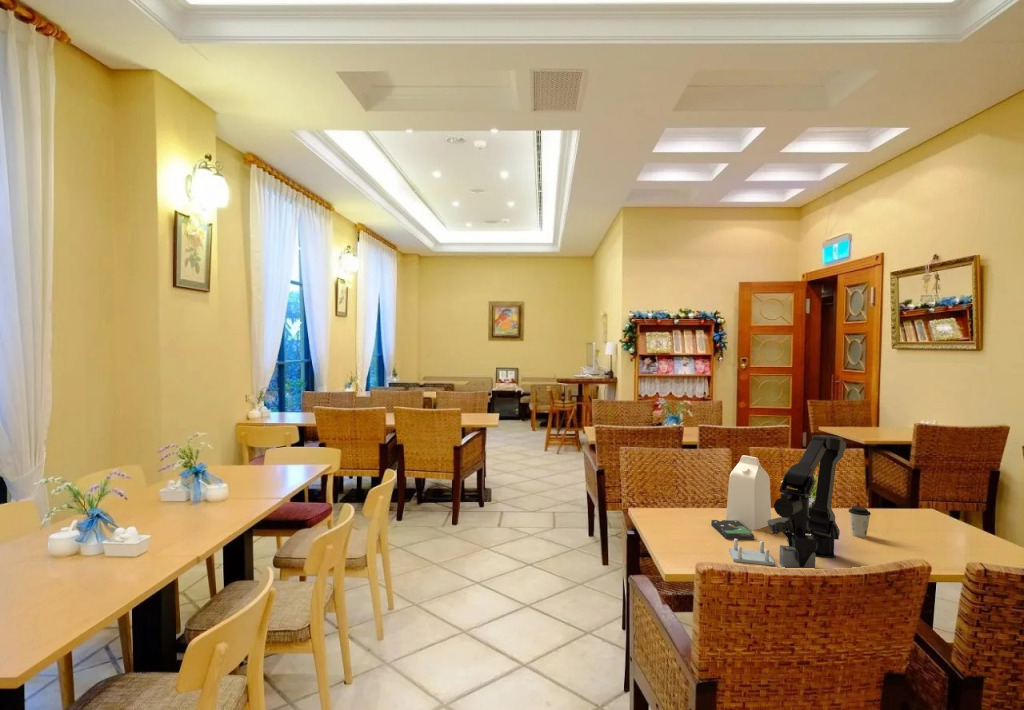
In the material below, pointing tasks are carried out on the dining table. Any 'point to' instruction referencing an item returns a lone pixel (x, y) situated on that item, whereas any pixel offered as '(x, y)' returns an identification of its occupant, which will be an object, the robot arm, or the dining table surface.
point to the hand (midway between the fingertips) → (797, 561)
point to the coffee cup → (859, 521)
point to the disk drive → (732, 529)
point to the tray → (751, 555)
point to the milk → (749, 494)
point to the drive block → (793, 558)
